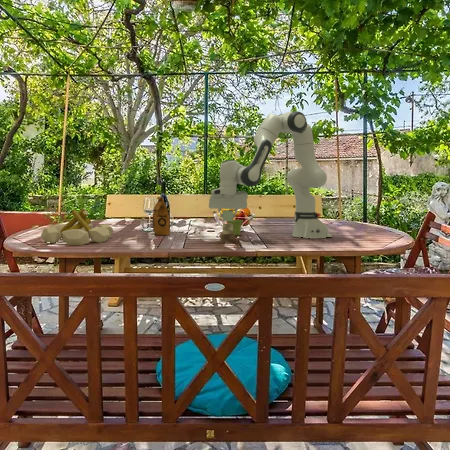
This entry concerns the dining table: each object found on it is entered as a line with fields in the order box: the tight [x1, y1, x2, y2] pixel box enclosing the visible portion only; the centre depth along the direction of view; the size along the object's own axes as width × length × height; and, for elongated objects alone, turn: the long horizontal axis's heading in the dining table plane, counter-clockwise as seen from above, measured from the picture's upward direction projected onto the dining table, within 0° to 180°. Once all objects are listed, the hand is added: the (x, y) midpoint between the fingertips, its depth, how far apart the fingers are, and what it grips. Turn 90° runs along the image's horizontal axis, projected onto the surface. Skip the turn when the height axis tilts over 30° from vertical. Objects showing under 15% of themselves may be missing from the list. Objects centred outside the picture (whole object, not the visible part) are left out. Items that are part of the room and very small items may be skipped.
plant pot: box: [227, 219, 244, 236], centre depth 238 cm, size 9×9×9 cm
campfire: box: [40, 207, 114, 246], centre depth 215 cm, size 35×34×17 cm
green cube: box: [222, 209, 234, 222], centre depth 215 cm, size 5×5×5 cm
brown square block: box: [220, 232, 236, 243], centre depth 216 cm, size 7×7×4 cm
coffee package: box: [152, 196, 171, 236], centre depth 238 cm, size 10×12×22 cm
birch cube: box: [222, 223, 233, 234], centre depth 216 cm, size 5×5×5 cm
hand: (227, 217), depth 215 cm, fingers closed on green cube, 5 cm apart
